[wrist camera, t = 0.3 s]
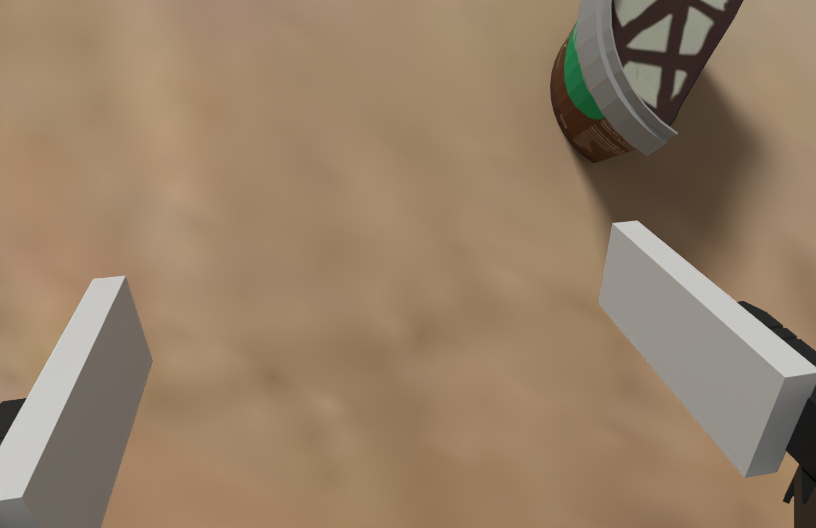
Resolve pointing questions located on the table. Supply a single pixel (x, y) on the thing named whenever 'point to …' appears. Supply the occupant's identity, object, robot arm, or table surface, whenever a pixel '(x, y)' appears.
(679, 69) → the food container
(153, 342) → the table surface
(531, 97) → the table surface
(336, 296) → the table surface
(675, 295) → the robot arm
